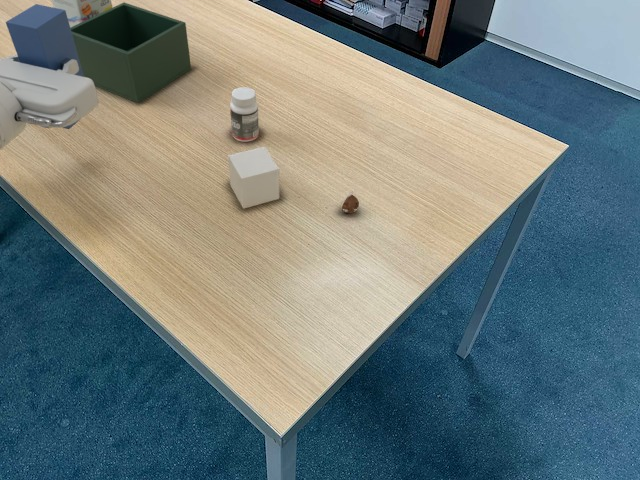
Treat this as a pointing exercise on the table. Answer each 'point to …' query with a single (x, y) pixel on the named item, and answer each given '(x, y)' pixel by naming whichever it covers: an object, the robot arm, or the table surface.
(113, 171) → the table surface
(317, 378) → the table surface
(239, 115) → the pill bottle
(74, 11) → the ink box
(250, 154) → the white cube
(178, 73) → the waste bin
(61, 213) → the table surface
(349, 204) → the chocolate
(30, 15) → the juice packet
